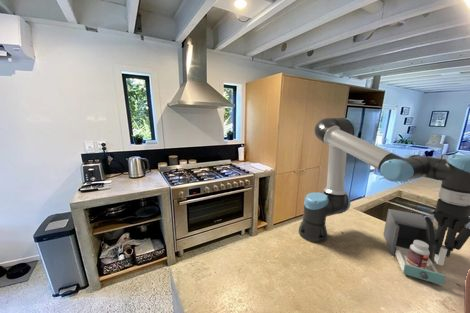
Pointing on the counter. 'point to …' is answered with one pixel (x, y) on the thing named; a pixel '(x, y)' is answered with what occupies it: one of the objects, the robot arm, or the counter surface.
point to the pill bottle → (418, 254)
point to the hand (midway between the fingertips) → (438, 262)
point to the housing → (406, 231)
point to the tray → (425, 274)
